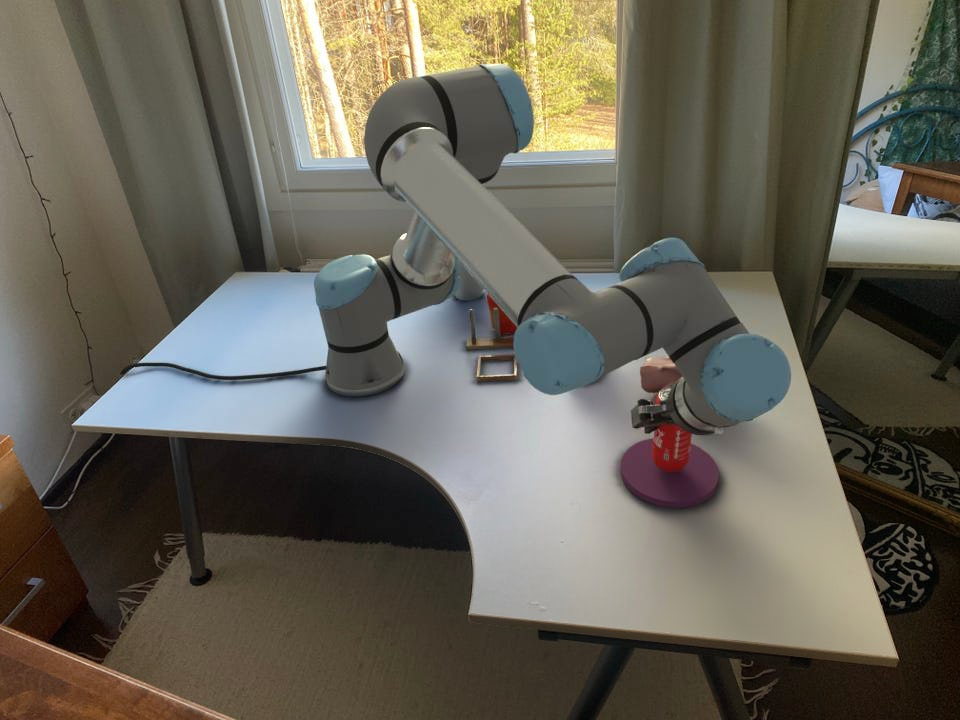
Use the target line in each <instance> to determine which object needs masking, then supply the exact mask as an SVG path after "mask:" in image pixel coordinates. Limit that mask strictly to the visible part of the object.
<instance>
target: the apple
mask: <svg viewBox="0 0 960 720" xmlns="http://www.w3.org/2000/svg"><path fill="white" fill-rule="evenodd" d="M485 298H486V303H487V307H488V310H489V315H490V321H491V327H492V328H493V330H494V331H495V324H494V311H493V310H494V308H498V311H499V325H500V335H513V334H515V332H516V330H517V327H516V325H515V324H514V323H513V322H512V321H511V320H510V319H509V318H508V316H507V315H506V314H505V313H504V312H503V311H502V310H501V308H500V307H499V306H498V305H497V304H496V303H495V302H494V301H493V299H492V298H491V297H490V296H489V295H488V294H487V293H486V296H485Z"/></svg>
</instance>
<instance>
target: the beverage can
mask: <svg viewBox="0 0 960 720" xmlns="http://www.w3.org/2000/svg"><path fill="white" fill-rule="evenodd" d="M671 388H672V387H667V388H664V389H663V390H661V391H660V393H659V395H658V397H657V400H656V405H659V403H660V401H661V400H662V399H666V398H668V395H669V392H670V390H671ZM692 436H693V434H691V433H688V432H686V431H684V430H683V429H681V428H680V427H679V426H678V425H667V424H664V425H660V426H658V429H657V430H655V431H653V437H652V438H653V449H652V458H653V460H654V462H655V465H656V466H657V467H658V468H659V469H660V470H662V471H665V472H671V473H674V472H679V471H681V470H682V469H684V467H685V465H686V464H687V463H688V461H689V454H690V446H691V444H692Z"/></svg>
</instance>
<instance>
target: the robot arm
mask: <svg viewBox="0 0 960 720" xmlns="http://www.w3.org/2000/svg"><path fill="white" fill-rule="evenodd" d="M532 105H533V104H532V101H531V96H530V94H529V91H528V89H527V87H526V85H525V83H524V81H523V79H522V77H521V76H520V74H518V73H517V72H516V70H514V69H513V68H512V67H511V66H509V65H507V64H503V63H490V64H488V63H487V64H484V63H479V64H477V65H474V66H469V67H463V68H457V69H452V70H449V71H448V70H447V71H442V72H438V73H431V74H426V75H422V76H414V77H413V76H412V77H409V78H405V79H404V78H403V79H402V80H399V81H397V82H395V83H393V84H392V85H390V86H389V87H387V89H385V90H384V91H383V92H382V93H381V94H380V95H379V96H378V97H377V99H376V100H375V102H374V103H373V105H372V106H371V109H370V111H369V113H368V115H367V118H366V122H365V125H364V134H363V143H364V153H365V157H366V161H367V164H368V167H369V169H370V171H371V173H372V174H373V177H374V178H375V180H376V181H377V183H378V184H379V185H380V187H382V189H383V190H384V191H385V192H386V193H387V194H388V195H389V196H390V197H391V198H392V199H393V200H396V201H398V202H401V203H407V204H408V205H409V206H410V208H411V209H412V213H411V217H410V221H409V223H408V227H407V230H406V233H404V234H402V235H401V236H400V237H399V238H398V239H397V240H396V242H395V243H394V245H393V248H392V251H391V254H389V255H385V256H381V257H379V258H376V259H375V258H374V257H372V256H370V255H368V254H365V253H357V254H355V255H352V254H348V255H345V256H341V257H339V258H336V259H334V260H332V261H330V262H328V263H327V264H325V265H324V266H323V267H322V268H320V269H319V270H318V272H317V274H316V275H315V277H314V280H313V288H314V294H315V304H316V306H317V308H318V311H319V315H320V320H321V324H322V328H323V331H324V336H325V339H326V343H327V355H326V363H325V364H326V365H320V366H314V367H308V368H303V369H295V370H289V371H281V372H280V371H279V372H271V373H270V372H269V373H258V374H246V375H244V374H243V375H217V374H210V373H206V372H203V371H200V370H197V369H193V368H189V367H185V366H182V365H178V364H175V363H171V362H136V363H132V364H129V365H127V366H125V367H124V368H123V369H122V370H121V371H120V373H119V375H124V374H126V373H127V372H128V371H130V370H132V369H135V368H142V367H144V368H145V367H164V368H165V367H166V368H172V369H176V370H179V371H182V372H185V373H190V374H194V375H197V376H200V377H203V378H206V379H212V380H217V381H218V380H220V381H243V380H254V379H255V380H256V379H270V378H279V377H287V376H295V375H302V374H308V373H313V372H320V371H325V375H324V376H325V380H326V384H327V386H328V388H329V389H330V390H331V391H332V392H333V393H335V394H337V395H339V396H343V397H350V398H359V397H360V398H361V397H368V396H372V395H377V394H379V393H382V392H384V391H387V390H389V389H390V388H392V387H394V386H395V385H396V384H397V383H398V382H400V381H401V380H402V378H403V376H404V374H405V364H404V359H403V356H402V355H401V352H399V350H397V348H396V346H395V343H394V341H393V340H392V338H391V336H390V333H389V328H388V322H390V321H393V320H395V319H399V318H401V317H403V316H404V317H405V316H406V315H409V314H412V313H415V312H418V311H421V310H423V309H426V308H430V307H432V306H437V305H441V304H442V303H444V302H446V301H448V300H450V299H451V298H453V297H454V296H455V293H456V292H457V290H458V288H459V285H460V276H459V273H460V266H459V262H460V263H461V264H462V265H463V266H464V268H465V269H466V270H467V271H468V272H469V273H470V274H471V276H472V277H473V278H474V279H475V280H476V281H477V282H478V283H479V285H480V286H481V287H482V288H483V289H484V290H483V291H484V292H485V293H486V295H487V294H488V295H489V296H490V297H491V298H492V299H493V301H494V302H495V303H496V304H497V305H498V306H499V307H500V308H501V310H502V311H503V312H504V313H505V314H506V315H507V316H508V318H509V319H510V320H511V321H512V322H513V323H514V324H515V325H516V327H517V330H516V332H515V333H514V336H513V337H514V342H513V345H514V347H513V352H514V354H515V357H516V360H517V365H519V366H520V368H521V370H522V375H523V377H524V378H525V379H526V382H528V383H529V384H530V385H531V386H532V387H533V388H534V389H535V390H537V391H538V392H540V393H542V394H544V395H549V396H558V395H563V394H565V393H568V392H570V391H573V390H577V389H579V388H582V387H586V386H589V385H592V384H594V383H595V382H598V380H599V379H600V378H602V377H603V376H606V375H607V374H610V373H612V372H614V371H616V370H618V369H620V368H621V367H625V365H627V364H630V363H632V362H634V361H637V360H639V359H641V358H644V357H647V356H648V355H650V354H652V353H654V352H657V351H659V350H661V349H663V351H664V352H665V354H667V357H668V356H669V357H670V359H671V360H672V362H673V363H674V364H675V365H676V367H677V369H678V370H679V372H680V373H681V375H682V377H681V378H680V379H679V380H677V381H676V382H675V384H674V385H673V386H672V388H671V390H670V392H669V395H668V398H666V399H662V400H661V401H660V403H659V405H653V401H650V400H648V399H645V398H640V399H638V400H637V405H635V406H634V407H633V408H632V409H630V415H631V416H630V418H631V419H630V420H631V428H632V429H636V430H638V429H641V428H643V429H644V430H643V431H644V434H645V435H650V434H651V433H654V431H655V430H657V429H658V426H660V425H664V424H667V425H678V426H679V427H680V428H681V429H683V430H684V431H686V432H688V433H691V434H692V435H695V436H701V437H702V436H711V435H713V434H714V435H715V436H722V435H724V433H725V432H724V430H726V429H728V428H730V427H733V426H737V425H740V424H742V423H744V422H750V421H753V420H754V419H756V418H759V417H761V416H762V415H764V414H766V413H768V412H770V411H771V410H773V409H774V408H775V407H776V406H778V405H779V404H780V403H782V401H783V400H784V398H785V397H786V395H787V394H788V392H789V389H790V386H791V382H792V369H791V364H790V362H789V359H788V357H787V355H786V354H785V352H784V351H783V349H782V348H781V347H780V346H779V345H778V344H776V343H775V342H774V341H772V340H770V339H768V338H766V337H764V336H763V335H759V334H755V333H750V332H749V331H748V329H747V328H746V326H745V325H744V323H743V322H741V320H740V318H739V317H738V316H737V315H736V313H735V311H734V310H733V308H732V307H731V306H730V305H729V303H728V301H727V299H726V298H725V296H724V295H723V293H722V292H721V291H720V289H719V288H718V286H717V285H716V283H715V282H714V280H713V278H712V277H711V276H710V274H709V272H708V271H707V268H706V266H705V264H704V262H703V263H702V262H701V261H700V260H699V259H698V257H697V255H696V254H695V253H694V252H693V251H692V250H691V249H690V248H689V246H688V245H687V244H686V242H685V241H683V240H682V239H680V238H679V237H678V238H677V237H667V238H666V237H665V238H663V239H661V240H658V241H655V242H654V243H653V244H651V245H650V246H648V247H645V248H644V249H642V250H640V251H639V252H637V253H636V254H635V255H633V256H632V257H631V258H630V259H629V260H627V262H626V263H625V264H624V265H623V266H622V268H621V269H620V271H619V280H620V282H618V283H616V284H613V285H611V286H608V287H605V288H603V289H600V290H597V291H595V292H593V291H591V290H590V289H589V288H588V287H587V286H586V285H584V284H583V282H581V280H580V279H578V278H577V277H576V276H575V275H574V274H573V273H572V272H571V271H570V270H569V269H568V268H567V267H566V266H565V265H564V264H563V263H562V262H561V261H560V260H559V259H558V258H557V257H556V256H554V254H553V253H551V252H550V250H549V249H548V248H547V247H545V246H544V244H543V243H542V242H541V241H540V240H538V238H536V236H535V235H533V234H532V232H530V230H529V229H527V227H526V226H524V224H522V222H520V221H519V219H517V218H516V216H515V215H514V214H513V213H512V212H510V211H509V210H508V209H507V208H506V207H505V206H504V204H503V203H502V202H500V201H499V199H497V198H496V197H495V195H493V194H492V192H490V191H489V190H488V189H487V188H486V186H485V185H486V184H488V183H489V182H491V181H492V180H493V179H494V178H495V177H496V176H497V174H498V172H499V170H500V167H501V166H502V164H503V161H504V159H505V157H507V155H509V154H519V153H520V151H522V150H525V149H526V148H527V147H528V146H529V144H530V143H531V142H532V141H531V140H532V139H533V134H534V128H535V118H534V117H535V116H534V110H533V106H532ZM458 261H459V262H458ZM134 367H135V368H134Z"/></svg>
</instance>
